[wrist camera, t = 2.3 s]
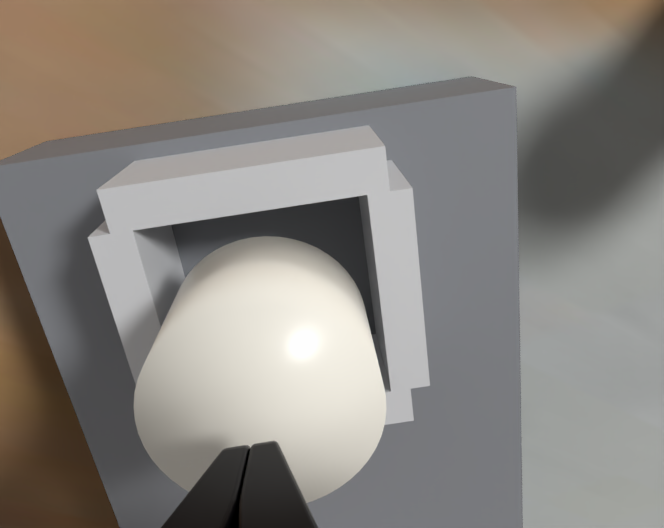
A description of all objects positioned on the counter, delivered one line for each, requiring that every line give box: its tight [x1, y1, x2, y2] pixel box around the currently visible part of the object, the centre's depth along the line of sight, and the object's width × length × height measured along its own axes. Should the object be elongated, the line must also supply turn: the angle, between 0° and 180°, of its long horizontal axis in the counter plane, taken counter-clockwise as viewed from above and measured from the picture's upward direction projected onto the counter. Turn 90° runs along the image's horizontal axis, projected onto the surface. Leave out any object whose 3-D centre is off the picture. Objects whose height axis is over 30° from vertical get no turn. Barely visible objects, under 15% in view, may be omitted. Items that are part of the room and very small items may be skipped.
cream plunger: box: [134, 236, 387, 503], centre depth 11 cm, size 4×4×3 cm
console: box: [0, 77, 523, 528], centre depth 20 cm, size 14×24×7 cm, turn 8°
